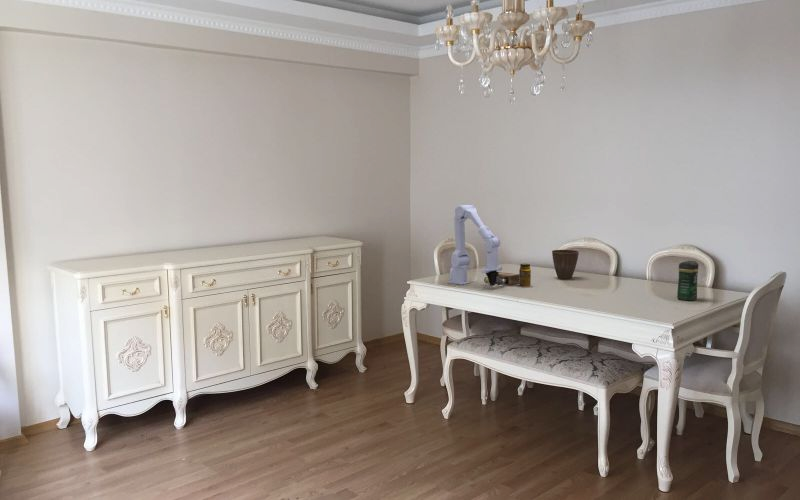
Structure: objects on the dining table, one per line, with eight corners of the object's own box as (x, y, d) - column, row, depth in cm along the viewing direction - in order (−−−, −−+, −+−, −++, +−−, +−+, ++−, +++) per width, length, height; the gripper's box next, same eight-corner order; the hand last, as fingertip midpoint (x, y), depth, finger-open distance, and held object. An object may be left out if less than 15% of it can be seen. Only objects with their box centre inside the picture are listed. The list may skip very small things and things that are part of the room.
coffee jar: (691, 301, 313) (693, 262, 311) (674, 299, 319) (676, 261, 317) (699, 298, 320) (701, 260, 318) (682, 296, 326) (684, 259, 324)
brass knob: (484, 283, 365) (484, 276, 365) (493, 281, 371) (494, 275, 371) (488, 283, 363) (488, 277, 362) (498, 281, 369) (498, 275, 368)
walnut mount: (489, 283, 371) (489, 273, 370) (498, 281, 376) (498, 271, 376) (510, 286, 361) (510, 275, 360) (519, 284, 366) (519, 274, 366)
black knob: (495, 284, 359) (495, 278, 359) (505, 282, 366) (505, 276, 365) (500, 285, 357) (500, 279, 357) (510, 283, 363) (510, 277, 363)
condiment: (534, 286, 360) (534, 264, 359) (522, 288, 355) (522, 265, 354) (524, 284, 366) (524, 262, 365) (513, 286, 362) (513, 264, 360)
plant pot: (583, 279, 382) (584, 251, 380) (565, 281, 373) (566, 253, 371) (563, 276, 394) (564, 249, 392) (546, 278, 385) (546, 251, 384)
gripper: (489, 261, 345) (489, 287, 347) (506, 259, 355) (506, 284, 357) (479, 260, 350) (478, 286, 352) (496, 258, 360) (496, 282, 362)
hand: (492, 285), depth 355 cm, fingers closed
